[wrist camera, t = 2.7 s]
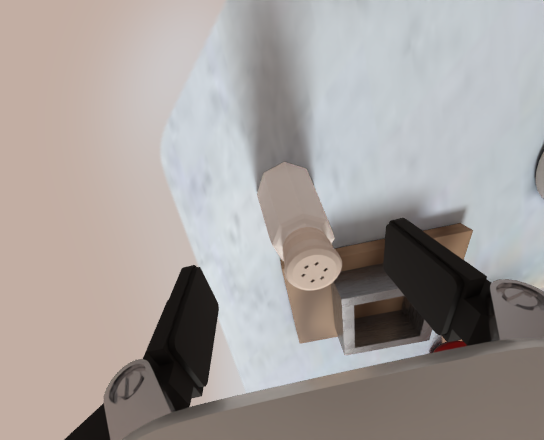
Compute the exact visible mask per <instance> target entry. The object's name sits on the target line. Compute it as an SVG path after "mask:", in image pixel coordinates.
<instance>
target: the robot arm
mask: <svg viewBox="0 0 544 440" xmlns="http://www.w3.org/2000/svg"><path fill="white" fill-rule="evenodd" d="M536 186H537V191H538V192H539V194H540V195H541V197H542V198H543V199H544V151H543V154H542V156H541V158H540V160H539V164H538V167H537V171H536ZM383 268H384V271H385V272H386V274H387V275H388V276H389V277H390V279H391V280H392V281H393V282H394V283H395V285H396V286H397V287H398V288H399V289H400V291H401V292H402V293H403V294H404V295H405V297H406V298H407V299H408V300H409V301H410V303H411V304H412V305H413V306H414V308H415V309H416V310H417V311H418V312H419V314H420V315H421V316H422V317H423V318H424V320H425V321H426V322H427V323H428V324H429V326H430V327H431V328H432V329H433V330H434V331H435V333H437V334H438V335H442V336H443V338H444V339H445V340H446V341H447V342H452V341H456V340H461V339H462V341H463V342H464V343H465V344H466V345H467V346H465V347H459V348H454V349H449V350H444V351H439V352H434V353H430V354H425V355H420V356H415V357H411V358H406V359H401V360H397V361H392V362H387V363H382V364H378V365H373V366H369V367H364V368H359V369H355V370H350V371H346V372H341V373H336V374H332V375H327V376H323V377H318V378H313V379H309V380H304V381H300V382H295V383H291V384H286V385H282V386H277V387H273V388H268V389H264V390H260V391H255V392H251V393H246V394H242V395H237V396H233V397H229V398H225V399H221V400H217V401H212V402H208V403H204V404H200V405H196V406H192V407H189V406H190V402H191V398H195V397H200V396H202V393H203V387H204V386H206V385H207V382H208V376H209V370H210V363H211V357H212V350H213V343H214V336H215V331H216V324H217V317H218V311H219V306H218V302H217V300H216V298H215V296H214V294H213V292H212V290H211V288H210V286H209V284H208V282H207V280H206V278H205V276H204V274H203V272H202V270H201V268H200V267H196V266H195V265H193V266H189V267H184V268H182V269H181V272H180V274H179V277H178V279H177V281H176V284H175V286H174V289H173V291H172V293H171V296H170V298H169V300H168V301H167V303H166V305H165V308H164V310H163V312H162V315H161V317H160V320H159V322H158V324H157V327H156V329H155V331H154V334H153V336H152V339H151V341H150V343H149V346H148V348H147V351H146V353H145V355H144V357H143V359H139V360H135V361H133V362H130V363H129V364H128V365H126V366H124V367H123V368H122V369H121V370H120V371H119V372H118V373H117V374H116V375H115V376H114V378H113V379H112V380H111V382H110V383H109V385H108V387H107V389H106V391H105V394H104V403H103V404H102V405H101V406H100V407H99V408H98V409H97V410H96V411H95V412H94V413H93V414H92V415H91V416H89V417H88V418H87V419H86V420H85V421H84V422H83V423H82V424H81V425H80V426H79V427H77V428H76V429H75V430H74V431H73V432H72V433H71V434H70V435H69V436H68V437H67V438H66V439H65V440H544V291H542V290H540V289H538V288H536V287H534V286H532V285H529V284H527V283H524V282H520V281H516V280H509V279H500V280H496V281H494V282H493V283H491V282H489V281H488V280H487V279H486V278H487V276H485V275H484V274H483V273H481V272H480V271H478V270H477V269H476V268H474V267H473V266H471V265H470V264H469V263H467V262H466V261H464V260H463V259H461V258H460V257H459V256H457V255H456V254H454V253H453V252H452V251H450V250H449V249H447V248H446V247H445V246H443V245H442V244H440V243H439V242H437V241H436V240H435V239H433V238H432V237H430V236H429V235H428V234H426V233H425V232H423V231H422V230H420V229H419V228H418V227H416V226H415V225H413V224H412V223H411V222H409V221H408V220H406V219H405V218H400V219H396V220H391V221H390V222H389V224H388V225H387V226H386V234H385V247H384V260H383Z"/></svg>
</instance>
